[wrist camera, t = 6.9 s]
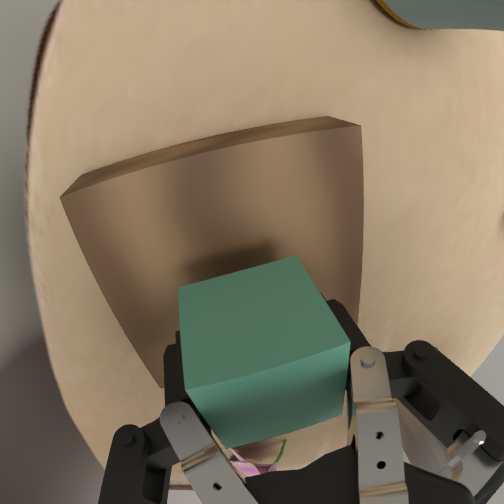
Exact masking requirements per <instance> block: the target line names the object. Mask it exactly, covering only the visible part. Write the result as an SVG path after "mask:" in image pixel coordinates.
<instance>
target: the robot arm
mask: <svg viewBox="0 0 504 504" xmlns="http://www.w3.org/2000/svg"><path fill="white" fill-rule="evenodd" d="M319 292H320V291H319ZM320 293H321V292H320ZM321 295H322V293H321ZM322 297H323V298H324V296H323V295H322ZM324 300H325V301H326V299H325V298H324ZM326 303H327V305H328V306H329V308H330V309H331V311H332V313H333V314H334V316H335V317H336V319H337V321H338V322H339V324H340V325H341V327H342V329H343V330H344V332H345V333H346V335H347V337H348V338H349V340H350V353H349V363H348V372H347V380H346V388H345V389H346V407H347V446H346V447H343V448H341V449H338V450H336V451H333V452H330V453H328V454H325V455H324V456H322V457H320V458H319V459H317V460H316V461H314V462H312V463H311V464H309V465H307V466H306V467H304V468H302V469H299V470H286V471H270V472H266V473H263V474H259V475H254V476H250V477H246V478H245V480H244V479H243V478H242V476H241V475H240V474H239V473H238V471H237V470H236V469H235V468H234V466H233V465H232V463H231V462H230V461H229V459H228V458H227V457H226V455H225V454H224V452H223V451H222V449H221V448H220V447H219V445H218V444H217V442H216V441H215V439H214V438H213V436H212V433H211V428H210V426H209V425H208V423H207V422H206V420H205V419H204V418H203V416H202V415H201V413H200V412H199V410H198V409H197V407H196V406H195V404H194V403H193V401H192V400H191V398H190V397H189V395H188V394H187V392H186V391H185V384H184V374H183V363H182V351H181V338H180V330H178V331H176V332H175V337H176V343H175V344H171V345H167V347H166V350H165V352H164V354H163V365H164V389H165V408H164V409H163V410H162V412H161V414H160V417H159V418H158V419H156V420H155V421H153V422H151V423H149V424H147V425H145V426H143V427H141V428H139V427H138V426H136V425H131V424H129V425H124V426H122V427H120V428H119V429H118V430H117V431H116V432H115V434H114V437H113V440H112V444H111V448H110V452H109V457H108V461H107V465H106V469H105V474H104V478H103V483H102V487H101V492H100V497H99V502H98V504H167V497H168V490H169V483H170V475H171V468H172V465H174V464H176V463H178V462H181V464H182V466H181V468H182V470H183V472H184V474H185V476H186V478H187V479H188V481H189V483H190V484H191V486H192V488H193V489H194V491H195V492H196V494H197V495H198V497H199V499H200V500H201V502H202V503H203V504H486V503H487V502H488V500H489V499H490V498H491V497H492V495H493V494H494V493H495V492H496V491H497V490H498V488H499V487H500V486H501V485H502V483H503V482H504V406H503V405H502V404H501V403H500V402H499V401H497V400H496V399H495V398H494V397H493V396H491V395H490V394H489V393H488V392H487V391H486V390H485V389H484V388H482V387H481V386H480V385H479V384H478V383H477V382H475V381H474V380H473V379H472V378H471V377H469V376H468V375H467V374H466V373H465V372H464V371H462V370H461V369H460V368H459V367H458V366H456V365H455V364H454V363H453V362H452V361H450V360H449V359H448V358H447V357H446V356H444V355H443V354H442V353H441V352H440V351H439V350H438V349H437V348H435V347H433V346H432V345H431V344H430V343H428V342H426V341H422V340H417V341H413V342H411V343H409V344H408V345H407V346H406V348H405V350H404V351H396V352H381V351H380V350H379V349H377V348H375V347H372V346H371V345H370V344H369V343H368V341H367V340H366V338H365V337H364V335H363V334H362V332H361V331H360V329H359V328H358V326H357V325H356V323H355V322H354V321H353V319H352V317H351V316H350V314H349V313H348V311H347V310H346V308H345V307H344V305H343V304H341V303H340V302H338V301H337V300H335V299H331V300H328V301H326ZM402 448H403V450H404V452H405V454H406V455H407V457H408V459H409V461H410V463H411V464H408V463H406V462H404V461H403V451H402ZM245 481H246V482H245Z"/></svg>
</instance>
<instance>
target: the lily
mask: <svg viewBox="0 0 504 504" xmlns="http://www.w3.org/2000/svg"><path fill="white" fill-rule="evenodd" d="M285 443H286V439H285V440H284V442H283V446H282V449H281V452H280V454H279V456H278V458H277V460H276V461H275V462H274V463H273V464H256V463H252V462H249V461H247V460H245V459H244V458H242V457H241V456H240V455H238V454H237V453H236V452H235V451H234V450H233V449H232V448H229V449H230V450H231V451H232V452H233V454H234V455H235V456H236V457H237V458H238V459H239V460H240V461H242V462H243V463H237V462H232V461H230V462H231V463H232V464H233V465H234V466H235V467H236V468H237V469H238V470H240V471H241V472H242V473H244V474H245V475H247V476H249V477H250V476H254V475H259V474H263V473H266V472H270V471H276V464H277V462H278V461H279V459H280V457H281V455H282V452H283V450H284V447H285Z"/></svg>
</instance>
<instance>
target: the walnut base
mask: <svg viewBox="0 0 504 504" xmlns="http://www.w3.org/2000/svg"><path fill="white" fill-rule="evenodd" d="M60 200H61V202H62V205H63V207H64V210H65V212H66V215H67V217H68V220H69V222H70V225H71V227H72V229H73V232H74V234H75V236H76V239H77V241H78V243H79V245H80V248H81V250H82V252H83V254H84V256H85V258H86V261H87V263H88V265H89V267H90V269H91V271H92V273H93V275H94V277H95V279H96V281H97V283H98V285H99V287H100V289H101V291H102V293H103V295H104V296H105V298H106V300H107V302H108V304H109V306H110V308H111V309H112V311H113V313H114V315H115V317H116V318H117V320H118V322H119V324H120V325H121V327H122V329H123V330H124V332H125V334H126V335H127V337H128V339H129V340H130V342H131V344H132V345H133V347H134V349H135V350H136V352H137V353H138V355H139V357H140V358H141V360H142V361H143V363H144V364H145V366H146V367H147V369H148V370H149V372H150V373H151V375H152V376H153V378H154V379H155V381H156V382H157V384H158V385H159V387H160V388H164V365H163V354H164V352H165V350H166V347H167V345H171V344H175V343H176V337H175V332H176V331H178V330H180V323H179V305H178V287H182V286H185V285H189V284H193V283H197V282H200V281H204V280H208V279H212V278H215V277H219V276H223V275H226V274H230V273H234V272H237V271H241V270H245V269H248V268H252V267H256V266H259V265H263V264H267V263H270V262H274V261H277V260H281V259H285V258H288V257H292V256H295V255H296V256H297V258H298V259H299V261H300V262H301V264H302V265H303V267H304V268H305V270H306V272H307V273H308V275H309V276H310V278H311V279H312V281H313V282H314V284H315V286H316V287H317V289H318V290H319V291H320V292H321V293H322V295H323V296H324V298H325V299H326V301H328V300H331V299H335V300H337V301H338V302H340V303H341V304H343V305H344V307H345V308H346V310H347V311H348V313H349V314H350V316H351V317H352V319H353V321H354V322H355V323H356V325H357V322H358V312H359V300H360V287H361V272H362V252H363V211H364V195H363V154H362V134H361V125H357V124H354V123H351V122H347V121H344V120H340V119H336V118H333V117H329V116H327V117H319V118H311V119H304V120H297V121H290V122H283V123H277V124H271V125H266V126H260V127H254V128H249V129H244V130H239V131H234V132H229V133H225V134H220V135H216V136H211V137H207V138H203V139H198V140H194V141H190V142H186V143H182V144H179V145H175V146H171V147H167V148H164V149H160V150H157V151H153V152H150V153H146V154H143V155H139V156H136V157H133V158H130V159H127V160H123V161H120V162H117V163H114V164H111V165H108V166H105V167H102V168H100V169H97V170H94V171H91V172H88V173H86V174H83V175H81V176H80V177H79V178H78V179H77V180H76V181H75V182H74V183H73V184H72V185H71V186H70V187H69V188H68V189H67V190H66V191H65V192H64V193H63V194H62V195H61V196H60Z"/></svg>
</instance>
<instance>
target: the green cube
mask: <svg viewBox="0 0 504 504" xmlns="http://www.w3.org/2000/svg"><path fill="white" fill-rule="evenodd" d="M178 305H179V323H180V338H181V351H182V363H183V374H184V384H185V391H186V392H187V394H188V395H189V397H190V398H191V400H192V401H193V403H194V404H195V406H196V407H197V409H198V410H199V412H200V413H201V415H202V416H203V418H204V419H205V420H206V422H207V423H208V425H209V426H210V428H211V429H212V430H213V432H214V433H215V434H216V436H217V437H218V439H219V440H220V441H221V443H222V444H223V445H224V447H225V448H226V449H228V448H232V447H237V446H241V445H245V444H249V443H253V442H257V441H261V440H265V439H269V438H272V437H276V436H279V435H283V434H286V433H289V432H292V431H296V430H299V429H302V428H305V427H308V426H311V425H314V424H317V423H319V422H322V421H325V420H328V419H330V418H333V417H336V416H338V415H341V414H342V410H343V403H344V396H345V388H346V380H347V372H348V363H349V353H350V340H349V338H348V337H347V335H346V333H345V332H344V330H343V329H342V327H341V325H340V324H339V322H338V321H337V319H336V317H335V316H334V314H333V313H332V311H331V309H330V308H329V306H328V305H327V303H326V301H325V300H324V298H323V297H322V295H321V293H320V292H319V290H318V289H317V287H316V286H315V284H314V282H313V281H312V279H311V278H310V276H309V275H308V273H307V272H306V270H305V268H304V267H303V265H302V264H301V262H300V261H299V259H298V258H297V256H296V255H295V256H292V257H288V258H285V259H281V260H277V261H274V262H270V263H267V264H263V265H259V266H256V267H252V268H248V269H245V270H241V271H237V272H234V273H230V274H226V275H223V276H219V277H215V278H212V279H208V280H204V281H200V282H197V283H193V284H189V285H185V286H182V287H178Z"/></svg>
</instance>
